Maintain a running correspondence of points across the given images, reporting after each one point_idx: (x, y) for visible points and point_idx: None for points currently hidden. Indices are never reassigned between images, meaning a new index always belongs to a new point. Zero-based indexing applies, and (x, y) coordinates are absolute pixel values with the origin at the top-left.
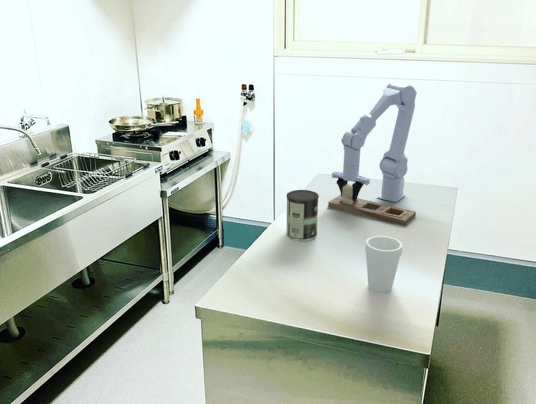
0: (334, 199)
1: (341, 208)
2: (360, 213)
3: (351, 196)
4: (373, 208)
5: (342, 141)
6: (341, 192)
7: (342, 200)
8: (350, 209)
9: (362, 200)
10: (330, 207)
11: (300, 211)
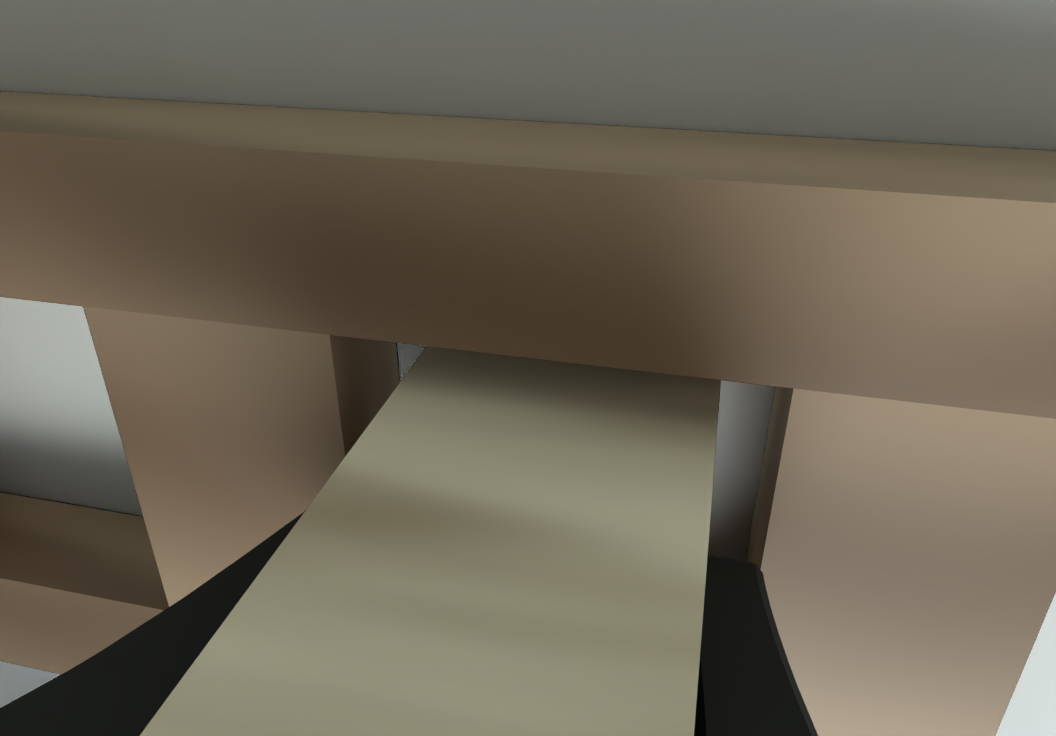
0: (1021, 521)
1: (613, 140)
2: (48, 102)
3: (291, 555)
4: (104, 523)
5: None
6: (765, 726)
7: (690, 465)
8: (305, 133)
9: None
10: (1030, 150)
11: None
